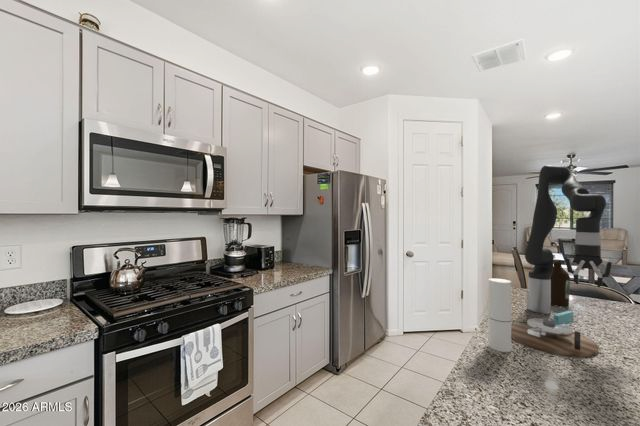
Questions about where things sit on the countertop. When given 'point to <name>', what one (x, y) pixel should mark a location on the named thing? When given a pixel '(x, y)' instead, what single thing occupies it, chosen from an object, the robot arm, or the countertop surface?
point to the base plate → (555, 342)
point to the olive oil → (559, 285)
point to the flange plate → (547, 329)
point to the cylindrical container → (500, 314)
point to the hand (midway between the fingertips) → (587, 285)
